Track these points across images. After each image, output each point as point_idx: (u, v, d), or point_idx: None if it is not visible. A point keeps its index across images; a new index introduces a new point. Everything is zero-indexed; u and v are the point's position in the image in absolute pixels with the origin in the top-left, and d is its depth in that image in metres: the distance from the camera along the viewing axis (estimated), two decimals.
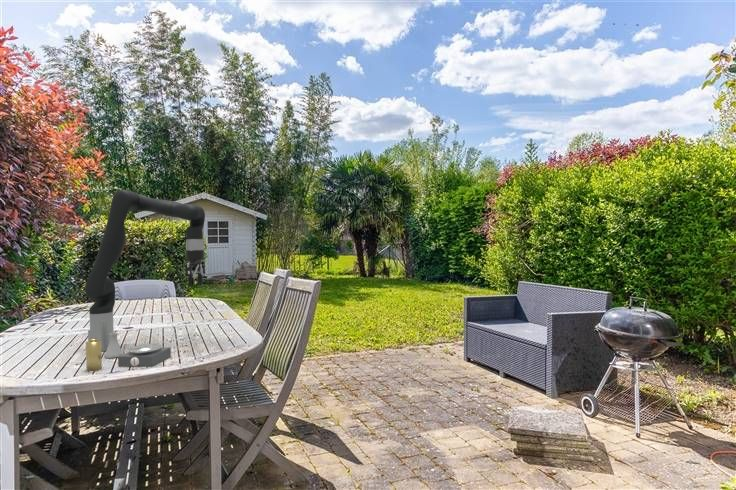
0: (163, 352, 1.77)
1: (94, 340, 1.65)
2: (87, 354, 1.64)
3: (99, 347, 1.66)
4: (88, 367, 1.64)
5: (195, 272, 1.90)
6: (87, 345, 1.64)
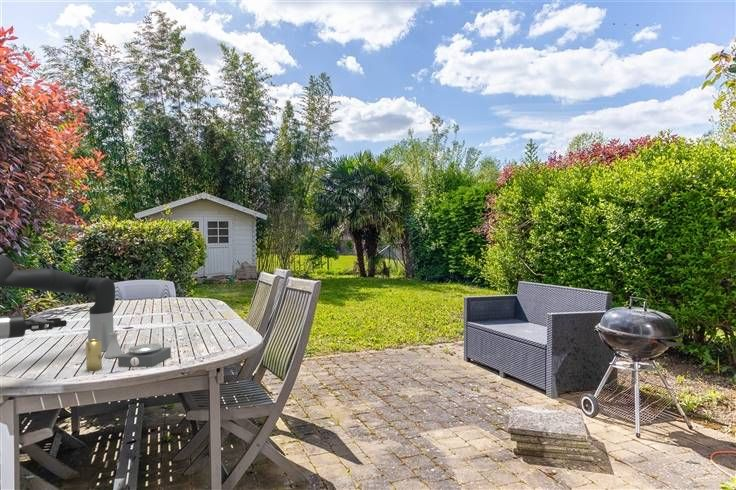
0: (163, 352, 1.77)
1: (94, 340, 1.65)
2: (87, 354, 1.64)
3: (99, 347, 1.66)
4: (88, 367, 1.64)
5: None
6: (87, 345, 1.64)
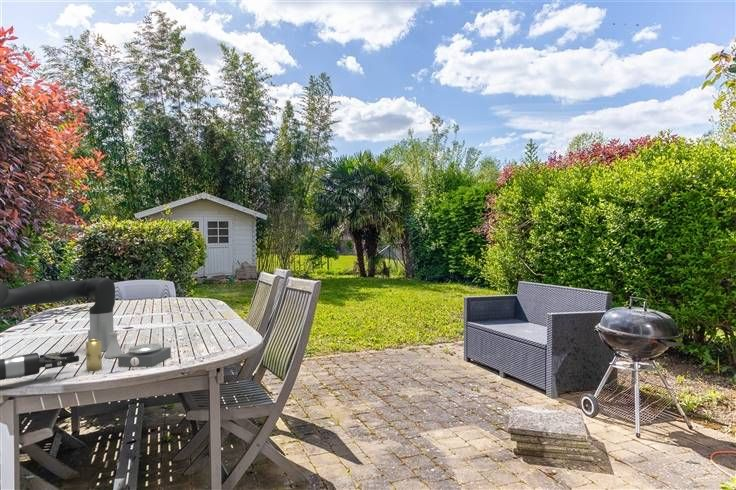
0: (163, 352, 1.77)
1: (94, 340, 1.65)
2: (87, 354, 1.64)
3: (99, 347, 1.66)
4: (88, 367, 1.64)
5: None
6: (87, 345, 1.64)
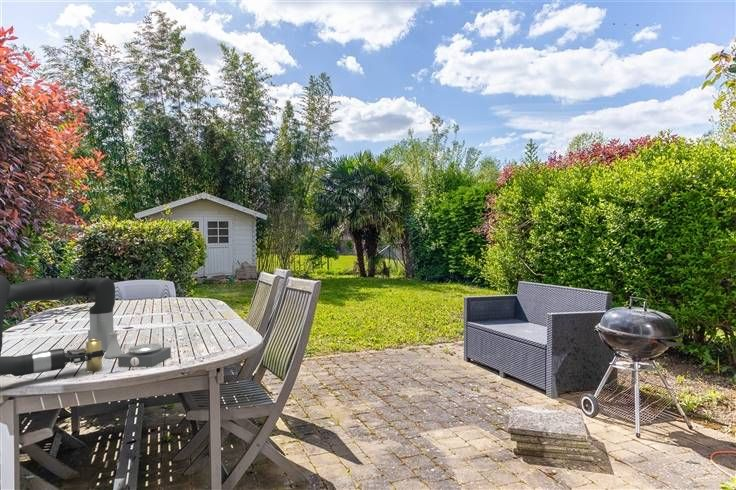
0: (163, 352, 1.77)
1: (94, 340, 1.65)
2: None
3: (99, 347, 1.66)
4: (88, 367, 1.64)
5: None
6: (87, 345, 1.64)
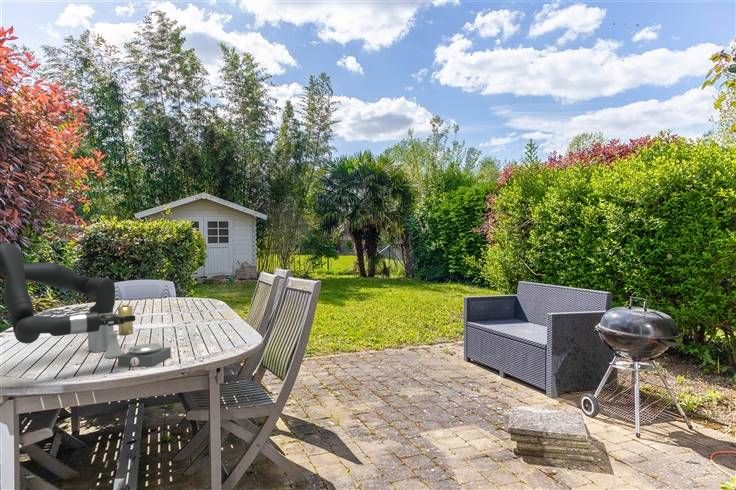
0: (163, 352, 1.77)
1: (126, 305, 1.71)
2: None
3: (131, 312, 1.72)
4: (120, 331, 1.70)
5: None
6: (119, 310, 1.70)
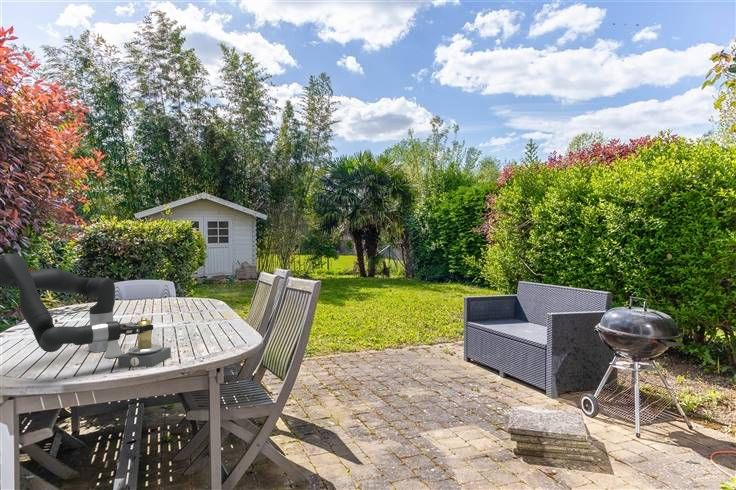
0: (163, 352, 1.77)
1: (145, 320, 1.75)
2: (139, 333, 1.74)
3: None
4: (140, 345, 1.74)
5: None
6: (139, 324, 1.74)
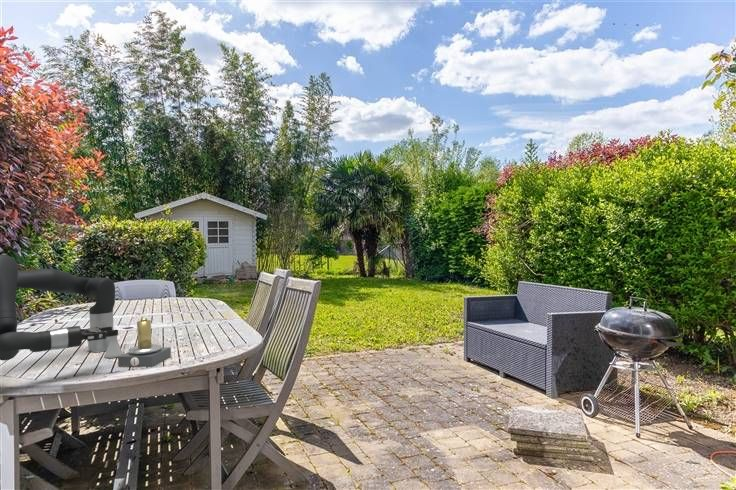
0: (163, 352, 1.77)
1: (145, 320, 1.75)
2: (139, 333, 1.74)
3: (149, 326, 1.76)
4: (140, 345, 1.74)
5: None
6: (139, 324, 1.74)
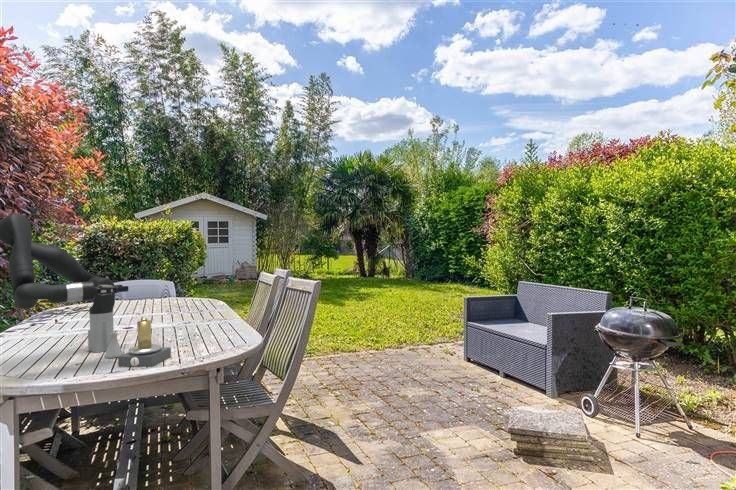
0: (163, 352, 1.77)
1: (145, 320, 1.75)
2: (139, 333, 1.74)
3: (149, 326, 1.76)
4: (140, 345, 1.74)
5: None
6: (139, 324, 1.74)
